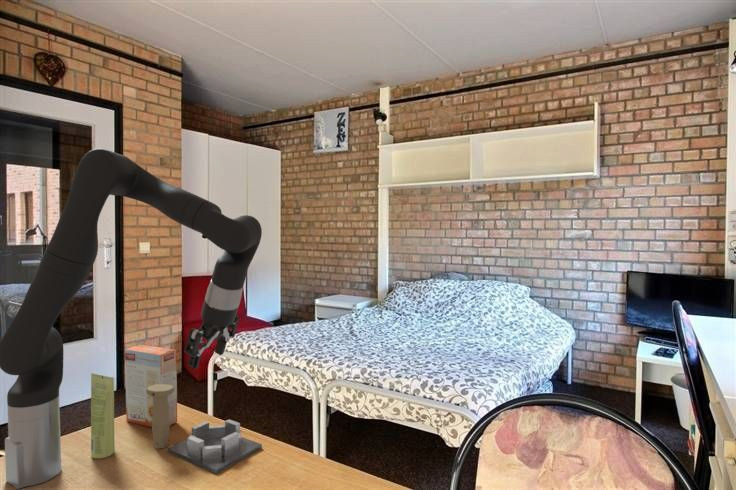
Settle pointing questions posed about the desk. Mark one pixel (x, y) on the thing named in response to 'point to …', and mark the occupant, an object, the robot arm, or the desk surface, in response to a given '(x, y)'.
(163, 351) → the cracker box
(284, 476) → the desk surface
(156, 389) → the handle
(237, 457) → the octagonal fixture plate
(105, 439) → the tube
